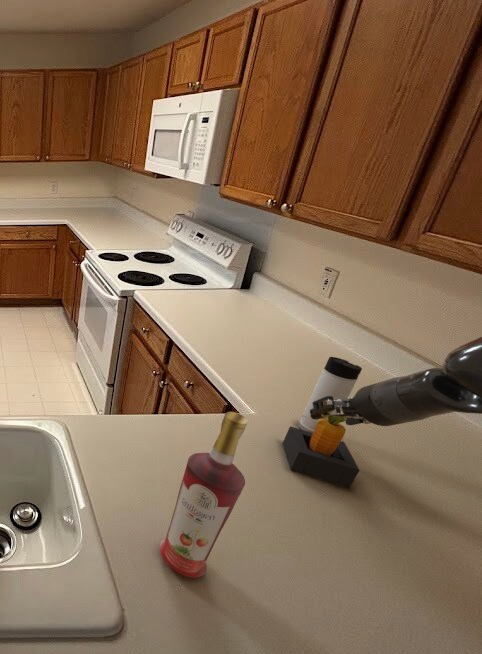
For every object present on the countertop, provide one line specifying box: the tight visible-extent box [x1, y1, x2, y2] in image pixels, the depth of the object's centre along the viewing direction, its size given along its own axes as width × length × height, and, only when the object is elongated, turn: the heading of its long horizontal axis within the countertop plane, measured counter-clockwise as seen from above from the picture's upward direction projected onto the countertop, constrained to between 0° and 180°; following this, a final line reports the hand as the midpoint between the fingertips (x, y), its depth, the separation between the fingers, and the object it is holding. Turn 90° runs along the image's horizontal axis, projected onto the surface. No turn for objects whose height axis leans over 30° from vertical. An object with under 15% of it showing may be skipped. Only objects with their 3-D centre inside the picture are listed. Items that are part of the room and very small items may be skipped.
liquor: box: [159, 411, 249, 578], centre depth 60 cm, size 7×7×28 cm
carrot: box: [309, 411, 347, 456], centre depth 88 cm, size 5×5×15 cm
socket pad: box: [282, 425, 360, 490], centre depth 90 cm, size 10×10×5 cm
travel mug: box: [297, 356, 363, 433], centre depth 99 cm, size 6×7×20 cm
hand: (329, 417), depth 88 cm, fingers open, 6 cm apart
